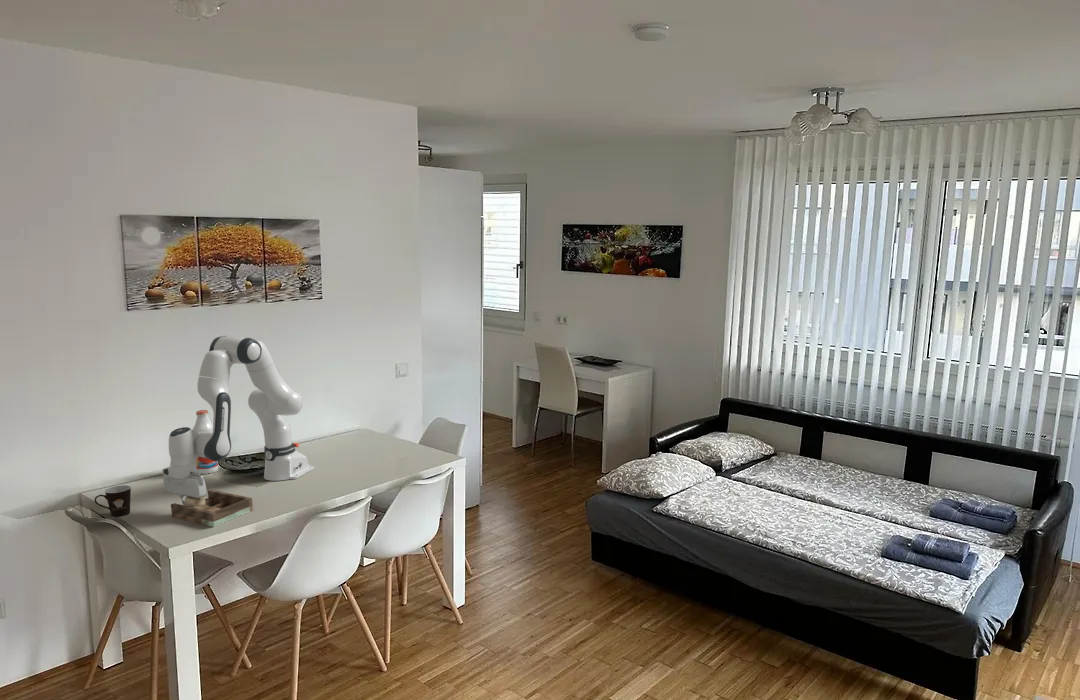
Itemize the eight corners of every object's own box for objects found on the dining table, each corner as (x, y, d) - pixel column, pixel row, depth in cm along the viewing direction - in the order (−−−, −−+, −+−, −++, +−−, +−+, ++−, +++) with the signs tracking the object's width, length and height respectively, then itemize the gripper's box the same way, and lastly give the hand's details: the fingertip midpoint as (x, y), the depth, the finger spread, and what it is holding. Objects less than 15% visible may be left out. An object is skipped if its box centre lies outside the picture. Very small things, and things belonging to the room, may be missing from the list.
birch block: (196, 506, 285) (195, 494, 284) (205, 508, 283) (204, 496, 282) (185, 510, 280) (184, 498, 280) (194, 513, 278) (193, 500, 277)
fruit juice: (213, 466, 341) (208, 407, 336) (222, 470, 335) (217, 410, 330) (192, 471, 334) (186, 411, 330) (201, 475, 328) (195, 414, 323)
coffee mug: (137, 509, 288) (135, 485, 287) (126, 517, 280) (123, 492, 278) (107, 510, 288) (104, 485, 287) (95, 518, 280) (92, 493, 278)
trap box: (171, 517, 280) (170, 504, 279) (211, 501, 296) (210, 489, 295) (214, 527, 270) (212, 514, 269) (252, 510, 286) (252, 498, 285)
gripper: (209, 471, 279) (212, 506, 282) (173, 464, 289) (176, 498, 291) (194, 476, 274) (197, 512, 276) (159, 469, 283) (162, 503, 285)
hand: (186, 505), depth 284 cm, fingers closed
